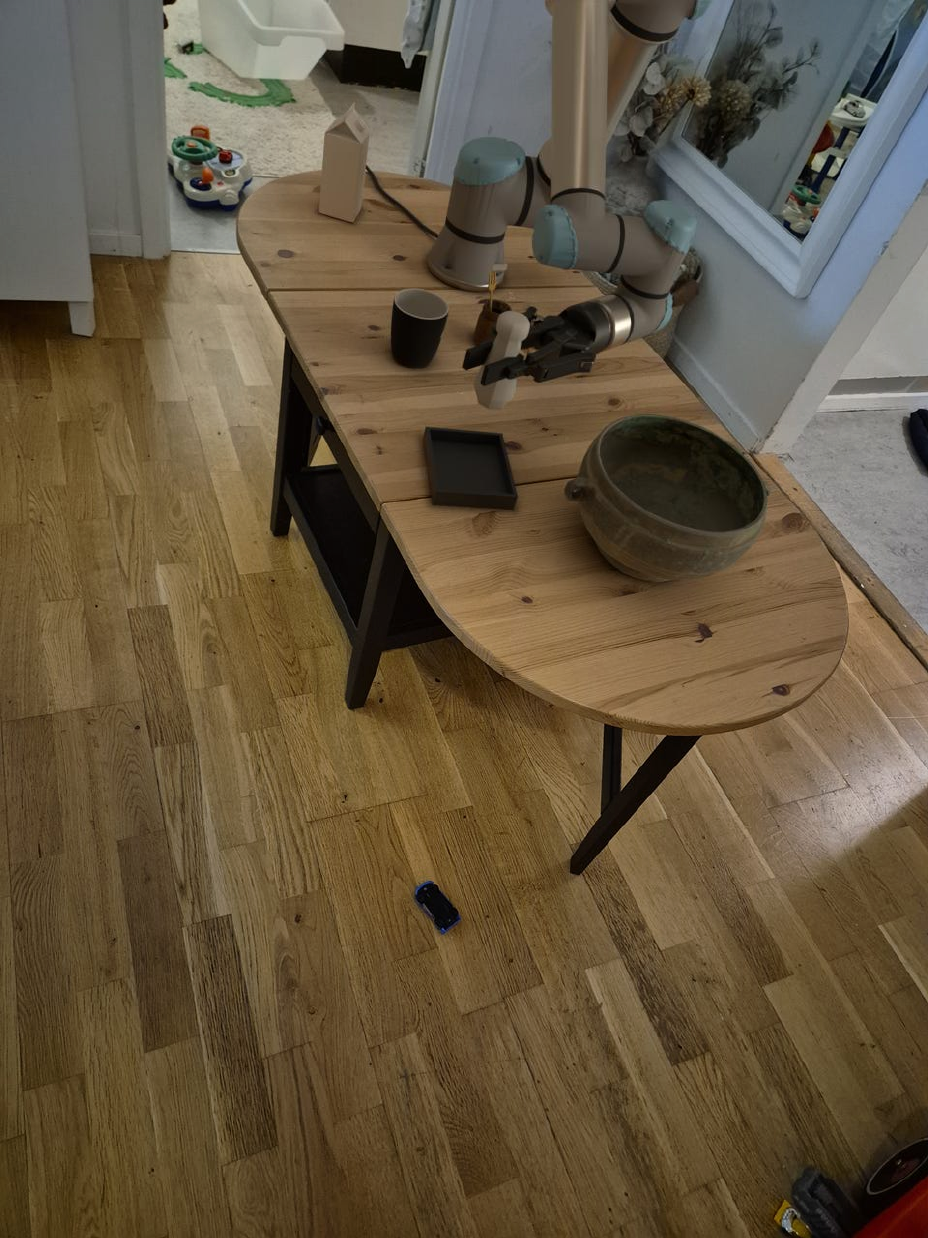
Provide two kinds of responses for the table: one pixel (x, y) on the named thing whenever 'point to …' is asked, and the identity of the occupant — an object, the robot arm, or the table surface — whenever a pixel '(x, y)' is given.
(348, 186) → the milk carton
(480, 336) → the utensil holder
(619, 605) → the table surface
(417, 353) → the mug
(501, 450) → the tray
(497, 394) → the salt shaker
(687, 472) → the bowl
